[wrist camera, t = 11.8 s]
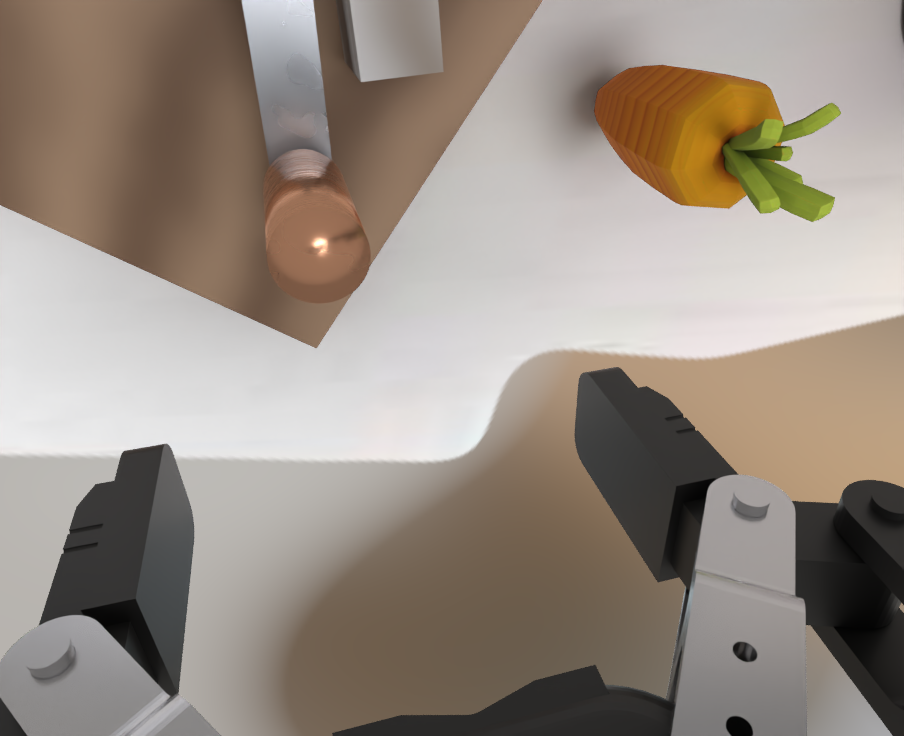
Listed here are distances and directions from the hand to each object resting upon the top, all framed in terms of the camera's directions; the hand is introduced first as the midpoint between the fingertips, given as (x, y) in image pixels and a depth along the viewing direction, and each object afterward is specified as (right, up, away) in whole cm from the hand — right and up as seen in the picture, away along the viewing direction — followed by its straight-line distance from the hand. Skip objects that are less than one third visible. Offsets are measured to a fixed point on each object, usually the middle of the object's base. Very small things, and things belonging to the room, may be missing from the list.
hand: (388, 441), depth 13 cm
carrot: (+9, +15, +20) cm, 27 cm away
